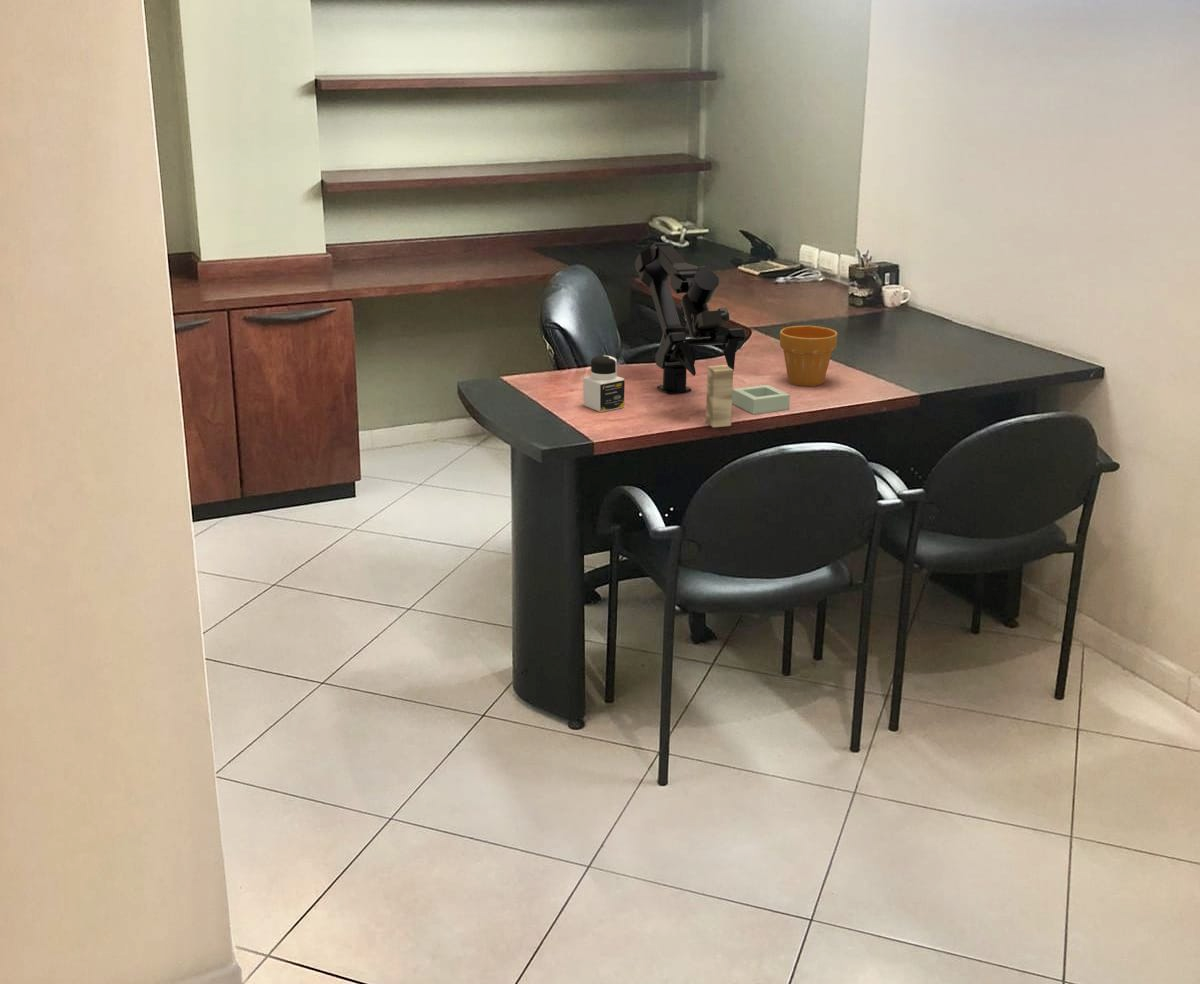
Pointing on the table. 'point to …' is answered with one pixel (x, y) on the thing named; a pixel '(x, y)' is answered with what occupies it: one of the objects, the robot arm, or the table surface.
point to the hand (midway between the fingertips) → (713, 373)
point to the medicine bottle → (603, 385)
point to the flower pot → (807, 353)
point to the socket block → (760, 399)
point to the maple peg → (719, 395)
